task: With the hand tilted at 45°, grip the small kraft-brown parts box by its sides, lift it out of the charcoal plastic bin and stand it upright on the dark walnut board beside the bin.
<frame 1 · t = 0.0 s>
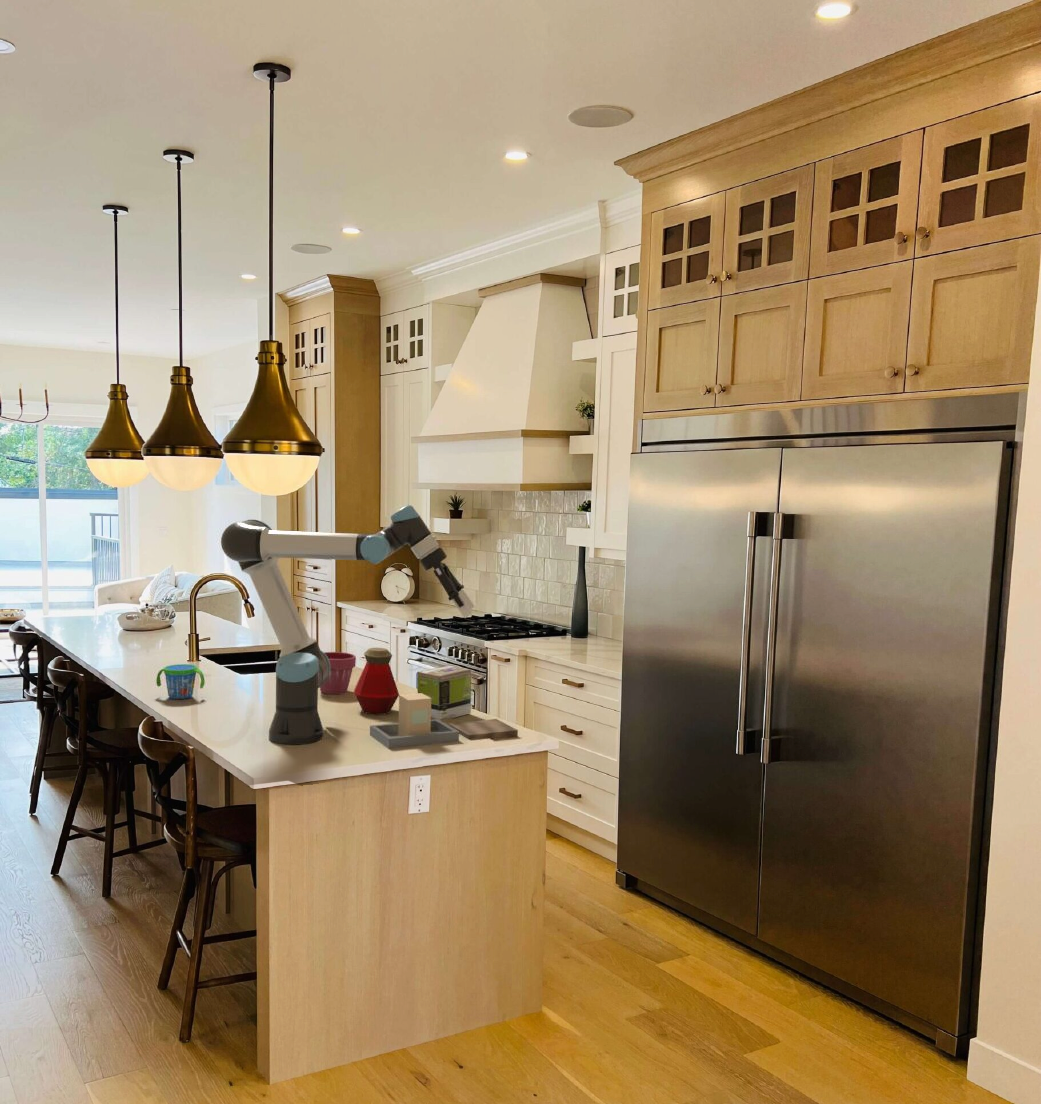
hand: (470, 612, 286), 36 cm above the countertop, tool tilted 35°, fingers open, 13 cm apart
tea box: (443, 716, 307), on the countertop
snack cup: (180, 697, 319), on the countertop
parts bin: (413, 740, 277), on the countertop
parts box: (414, 737, 277), point 1 cm above the countertop, touching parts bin
bottle: (375, 711, 310), on the countertop
walnut board: (482, 733, 287), on the countertop
plant pot: (334, 692, 335), on the countertop
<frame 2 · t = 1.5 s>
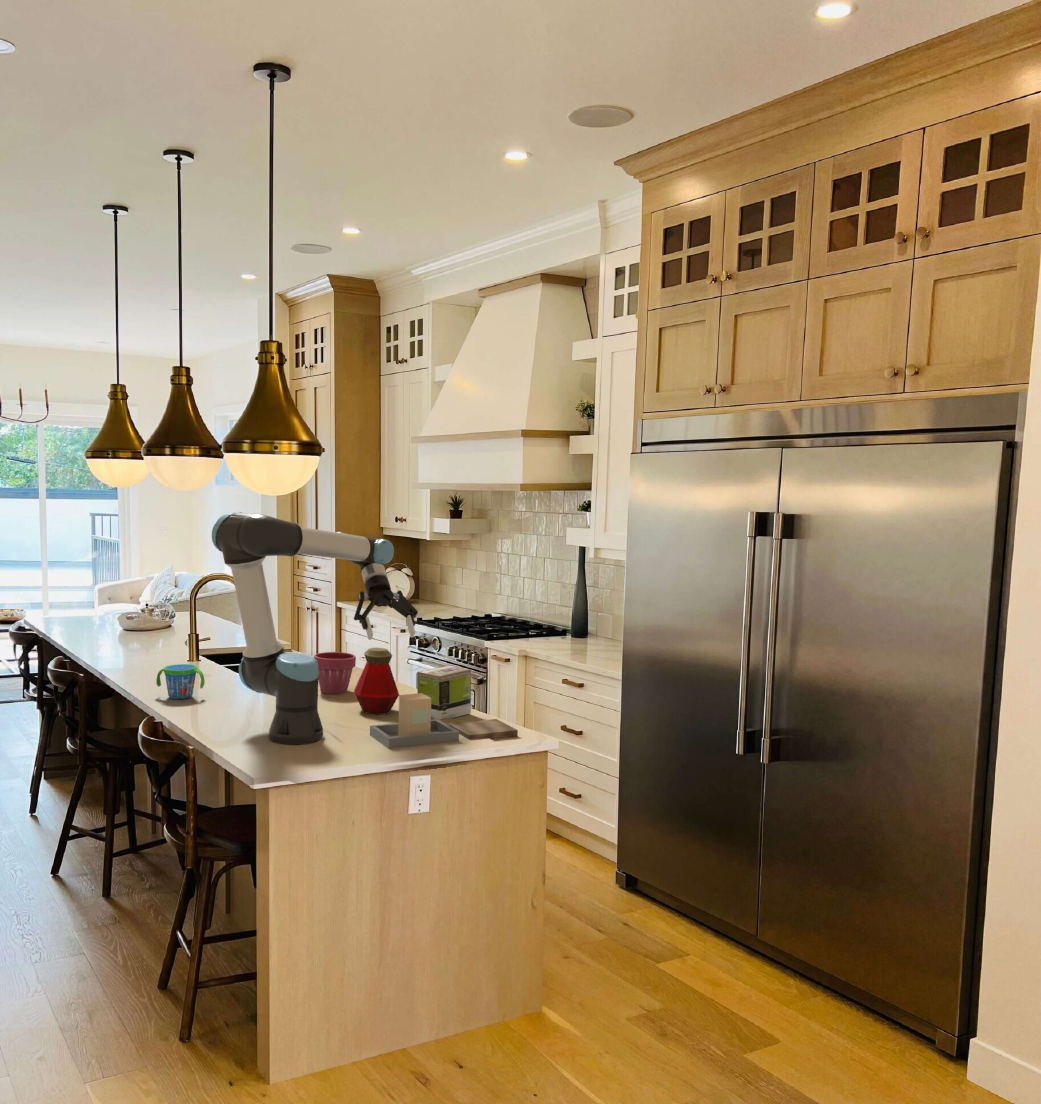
hand: (392, 636, 292), 27 cm above the countertop, tool tilted 45°, fingers open, 13 cm apart
nothing on the countertop moved.
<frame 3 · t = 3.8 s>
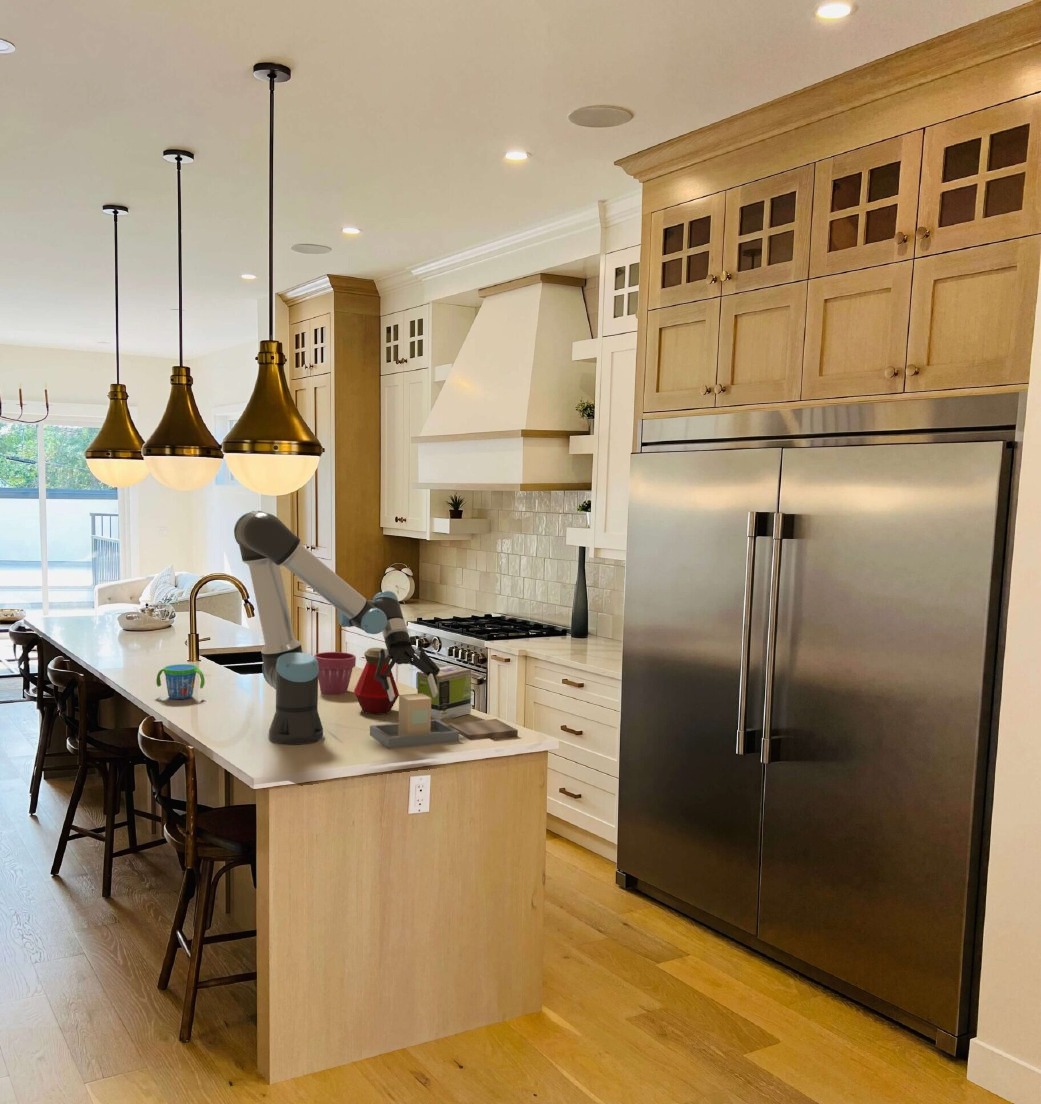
hand: (414, 696, 282), 11 cm above the countertop, tool tilted 45°, fingers open, 13 cm apart
nothing on the countertop moved.
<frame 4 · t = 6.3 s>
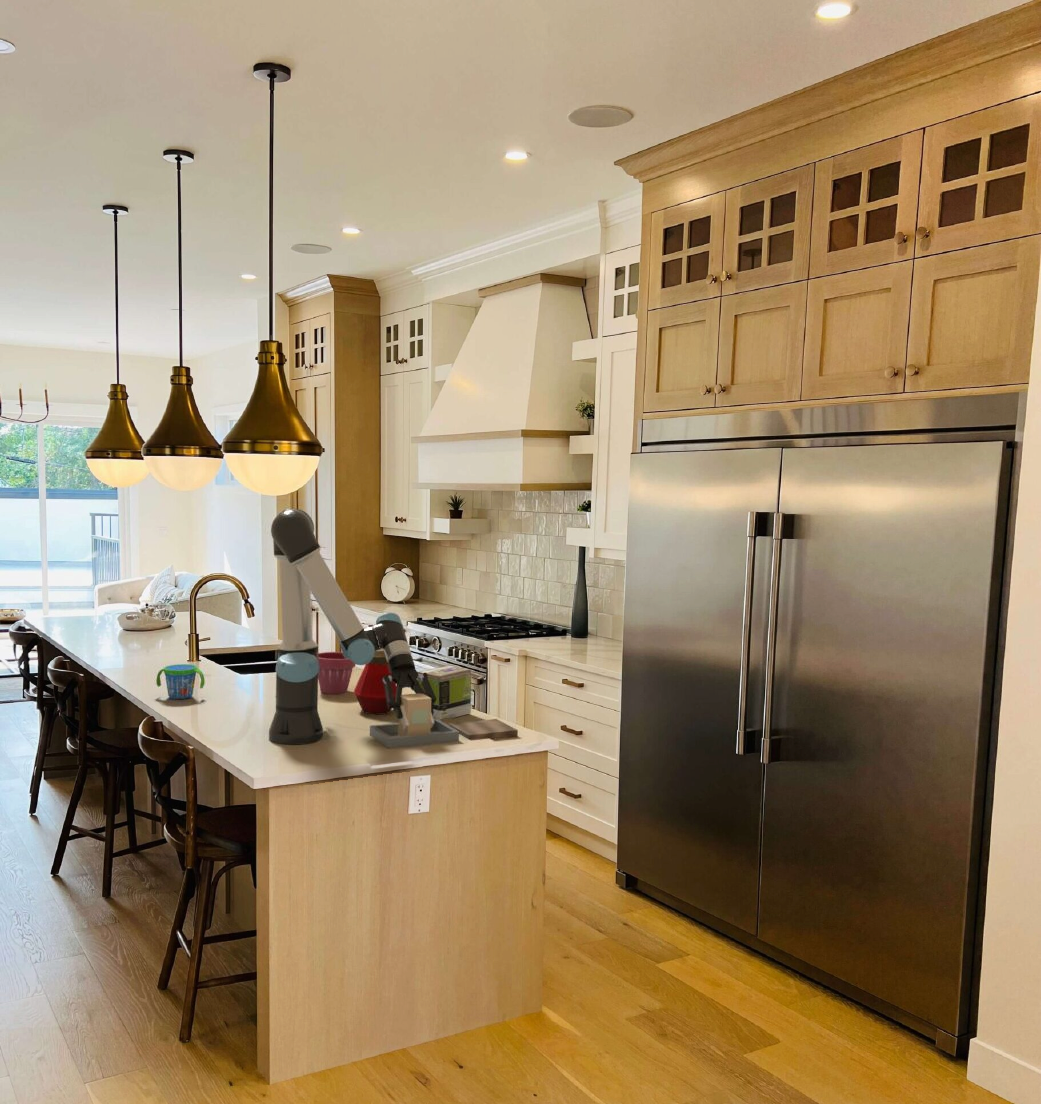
hand: (419, 726, 273), 5 cm above the countertop, tool tilted 45°, fingers closed on parts box, 7 cm apart
parts box: (414, 737, 277), point 1 cm above the countertop, touching gripper, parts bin
everything else where it was.
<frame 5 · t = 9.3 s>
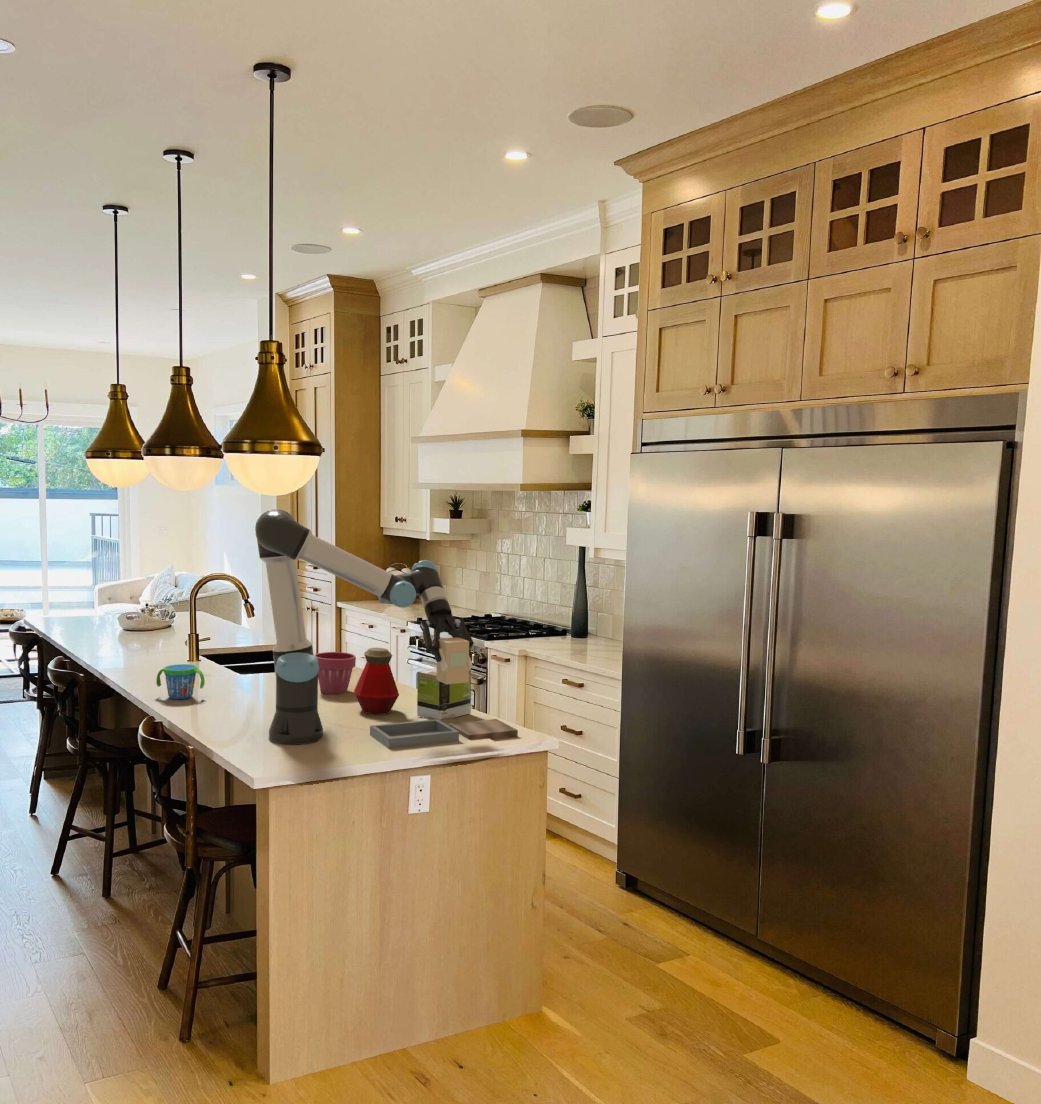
hand: (457, 668, 277), 21 cm above the countertop, tool tilted 45°, fingers closed on parts box, 7 cm apart
parts box: (452, 680, 280), point 17 cm above the countertop, touching gripper
everything else where it was.
when the fingers open (8 cm above the countertop, at t = 12.6 s): parts box drops 1 cm, resting on walnut board.
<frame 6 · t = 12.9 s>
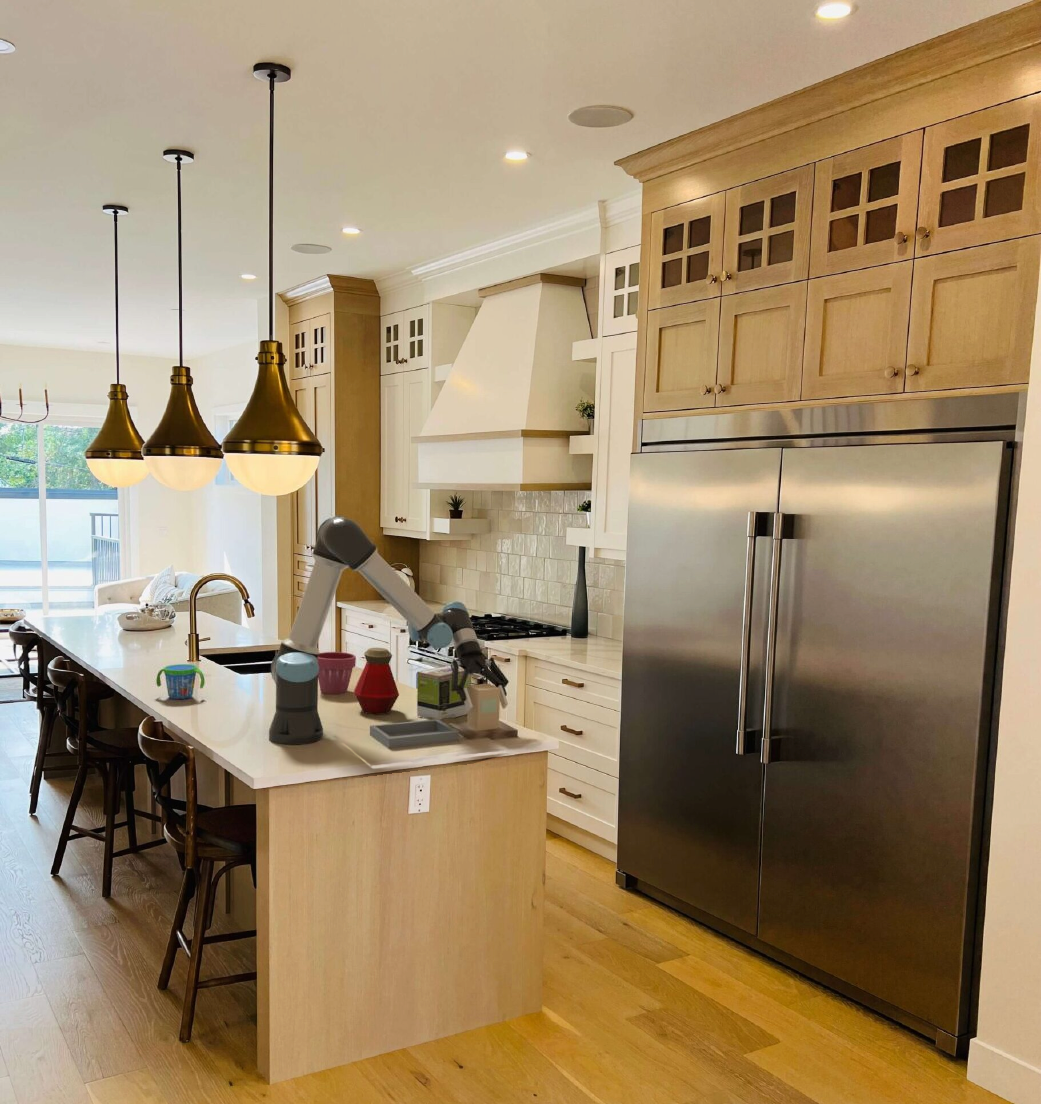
hand: (487, 707, 284), 8 cm above the countertop, tool tilted 45°, fingers open, 11 cm apart
parts box: (482, 726, 287), point 2 cm above the countertop, touching walnut board
everything else where it was.
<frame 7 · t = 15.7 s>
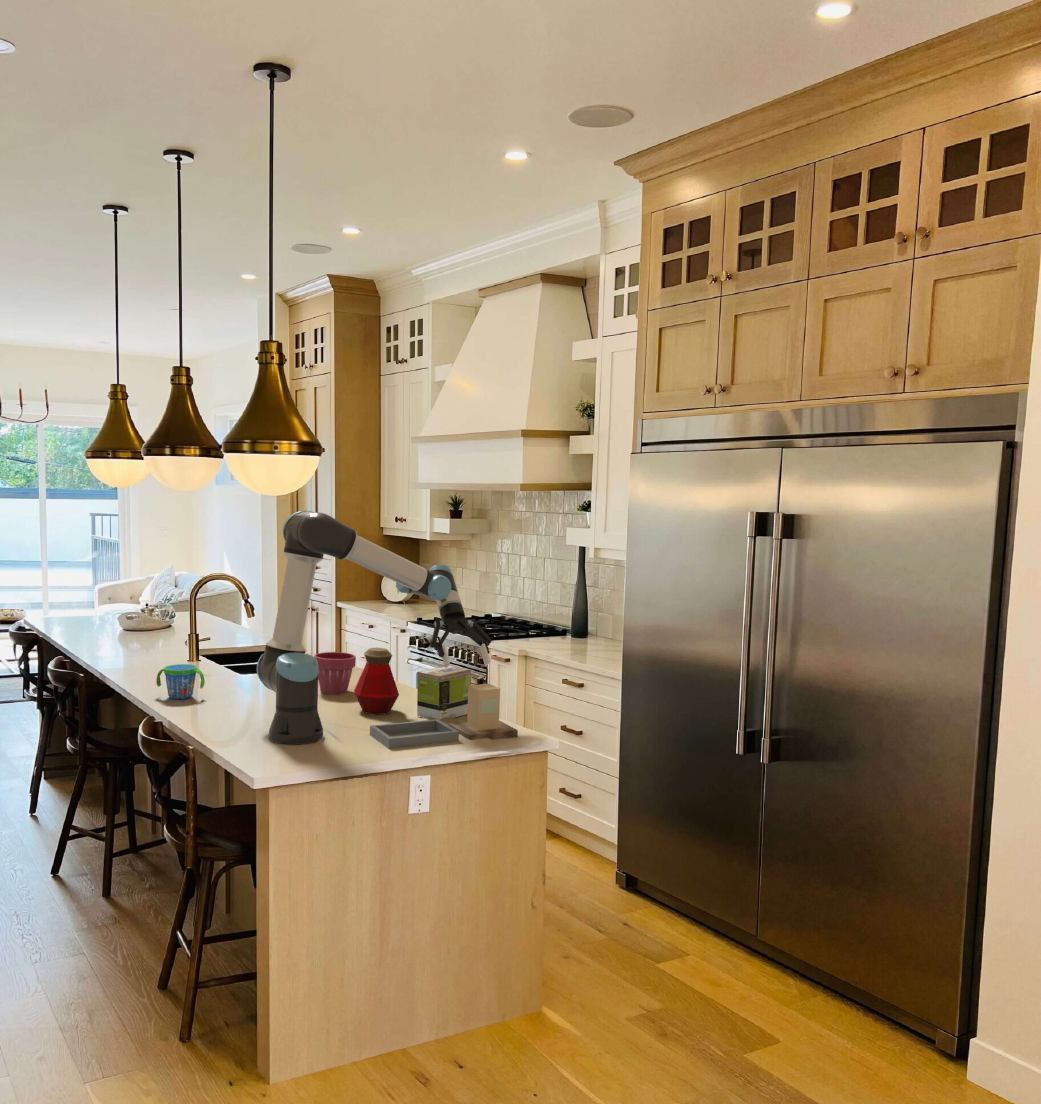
hand: (467, 664, 295), 19 cm above the countertop, tool tilted 45°, fingers open, 13 cm apart
nothing on the countertop moved.
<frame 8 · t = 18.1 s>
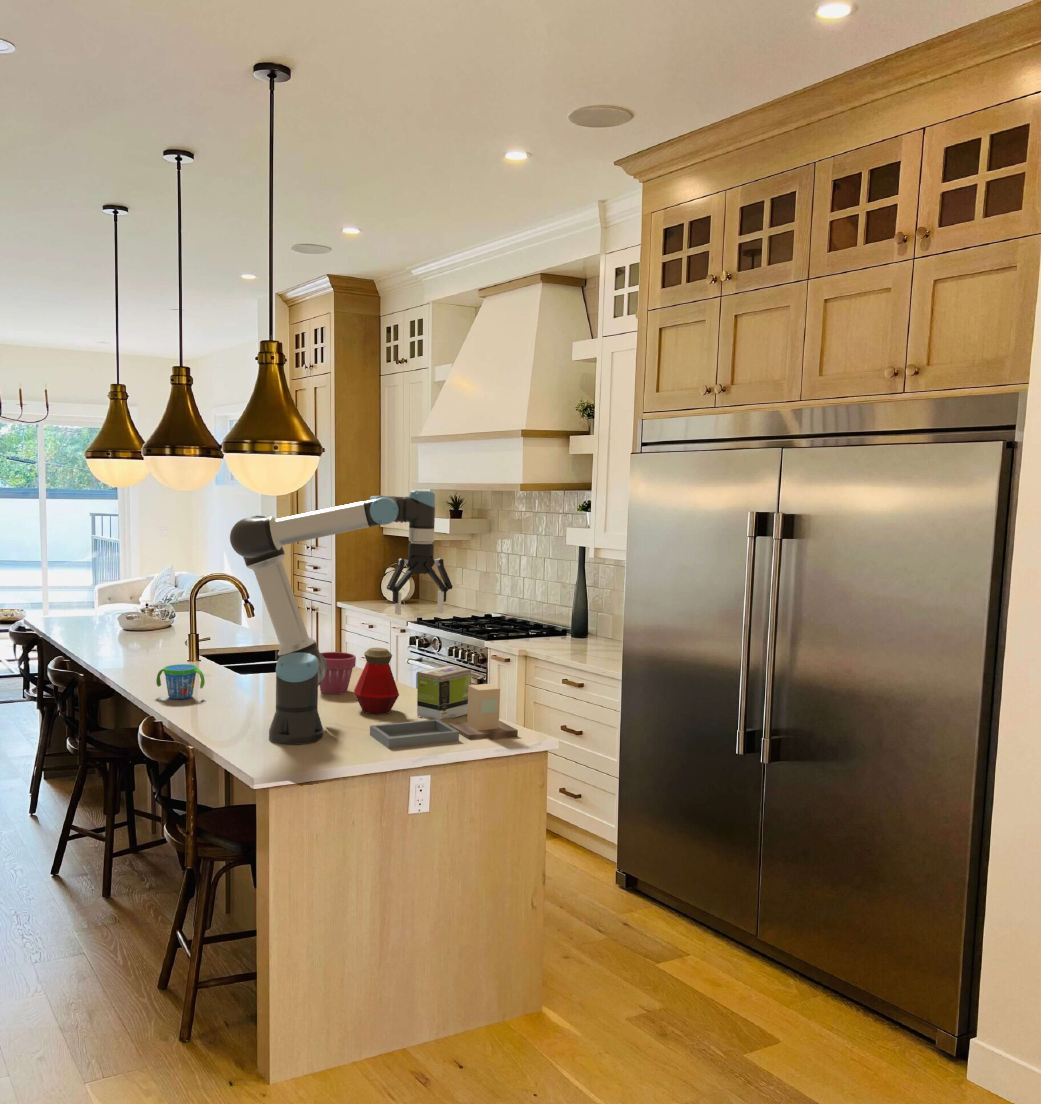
hand: (419, 613, 288), 35 cm above the countertop, tool pointing down, fingers open, 13 cm apart
nothing on the countertop moved.
at the end: parts box inside the target area on the walnut board (0.0 cm from its centre), point 2.0 cm above the walnut board's base; parts box tilted 0°; the gripper is holding nothing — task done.
